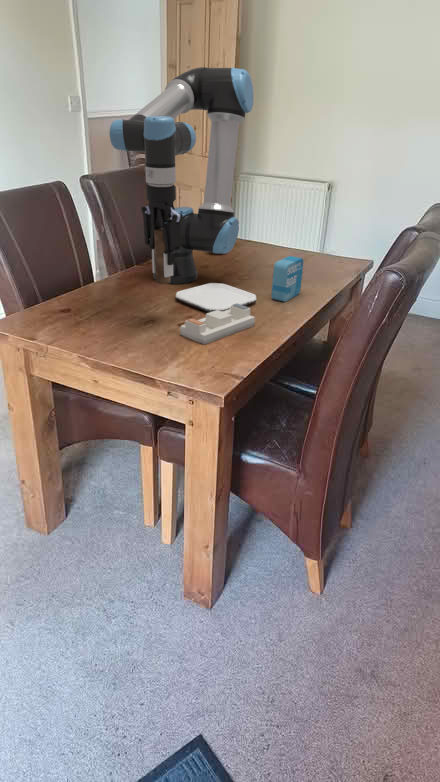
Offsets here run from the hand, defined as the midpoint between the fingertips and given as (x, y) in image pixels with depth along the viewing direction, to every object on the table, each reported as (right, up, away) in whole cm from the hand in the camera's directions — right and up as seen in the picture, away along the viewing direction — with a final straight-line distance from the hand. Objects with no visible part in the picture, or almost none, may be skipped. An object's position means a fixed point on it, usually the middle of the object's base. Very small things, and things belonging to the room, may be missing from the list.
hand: (162, 273), depth 155 cm
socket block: (+15, -15, 0) cm, 22 cm away
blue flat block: (+37, -2, +27) cm, 46 cm away
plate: (+14, -4, +22) cm, 26 cm away
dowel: (0, -2, +1) cm, 2 cm away
